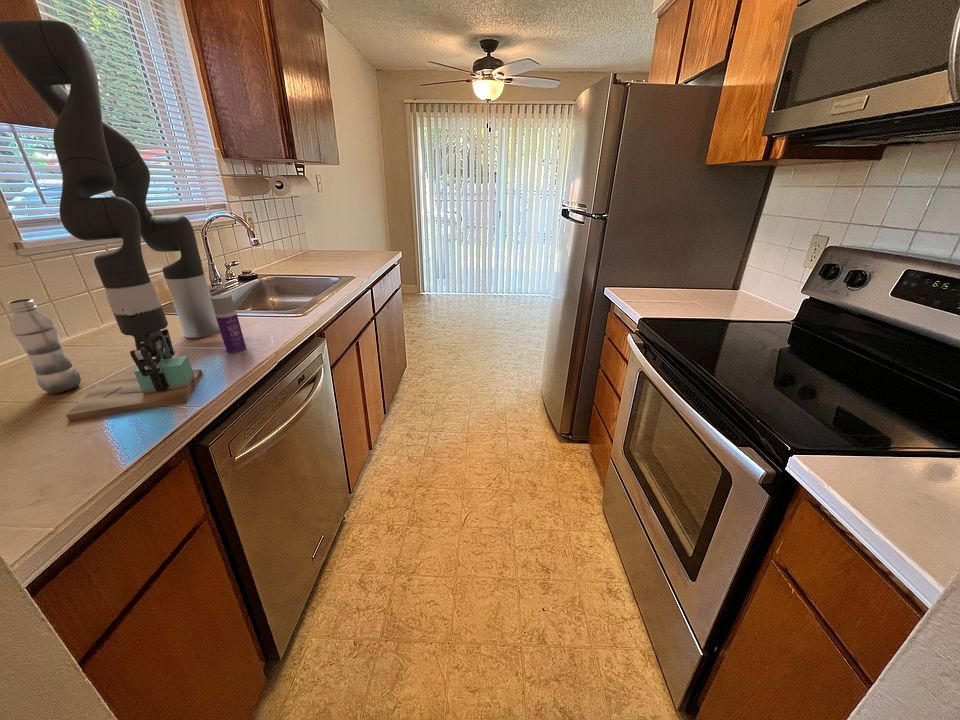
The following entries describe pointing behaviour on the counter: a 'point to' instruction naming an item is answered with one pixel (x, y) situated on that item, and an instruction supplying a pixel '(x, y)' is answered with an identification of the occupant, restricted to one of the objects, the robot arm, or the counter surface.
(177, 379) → the block
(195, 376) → the oak board
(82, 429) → the counter surface
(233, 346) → the container
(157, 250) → the robot arm
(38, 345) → the plastic bottle
